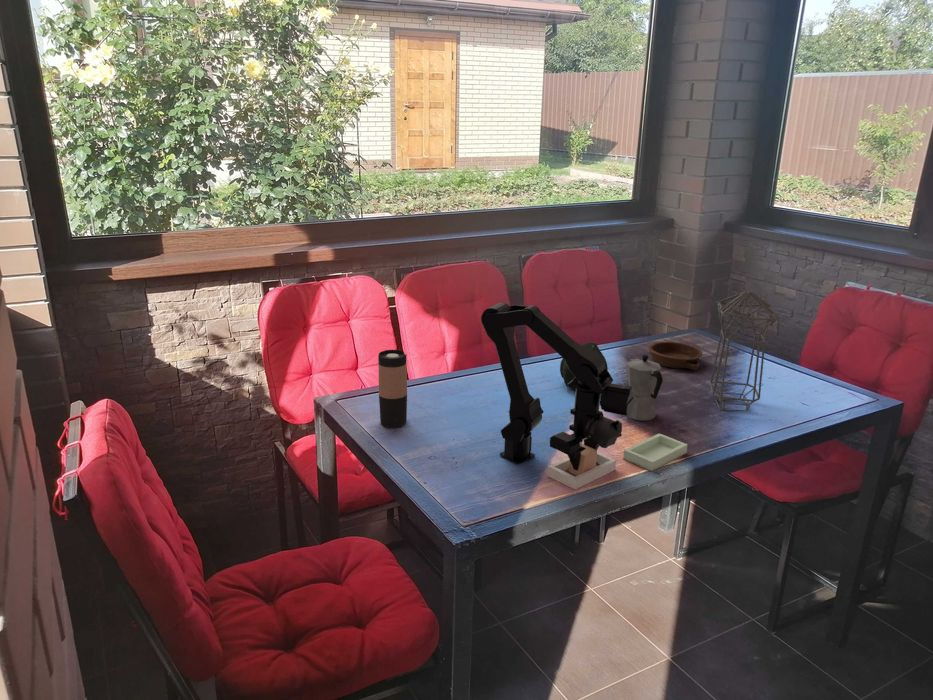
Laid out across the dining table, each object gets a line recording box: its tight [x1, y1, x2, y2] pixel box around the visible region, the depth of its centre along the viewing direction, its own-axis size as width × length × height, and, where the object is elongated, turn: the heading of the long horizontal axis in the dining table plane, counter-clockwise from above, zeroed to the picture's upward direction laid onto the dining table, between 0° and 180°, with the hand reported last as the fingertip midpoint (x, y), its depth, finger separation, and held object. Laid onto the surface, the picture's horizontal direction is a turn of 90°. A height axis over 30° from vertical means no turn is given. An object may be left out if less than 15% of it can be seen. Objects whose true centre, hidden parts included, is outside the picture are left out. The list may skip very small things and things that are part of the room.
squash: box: [559, 341, 609, 389], centre depth 230 cm, size 14×15×15 cm
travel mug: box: [377, 349, 408, 429], centre depth 200 cm, size 8×8×20 cm
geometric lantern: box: [709, 290, 781, 413], centre depth 213 cm, size 16×16×35 cm
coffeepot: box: [626, 354, 664, 421], centre depth 207 cm, size 15×9×18 cm, turn 19°
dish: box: [648, 341, 703, 371], centre depth 253 cm, size 18×22×5 cm
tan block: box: [568, 443, 598, 477], centre depth 177 cm, size 4×4×6 cm
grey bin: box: [547, 451, 617, 490], centre depth 178 cm, size 15×8×2 cm, turn 131°
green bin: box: [622, 433, 688, 472], centre depth 187 cm, size 15×8×2 cm, turn 131°
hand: (582, 466), depth 178 cm, fingers closed on tan block, 4 cm apart
